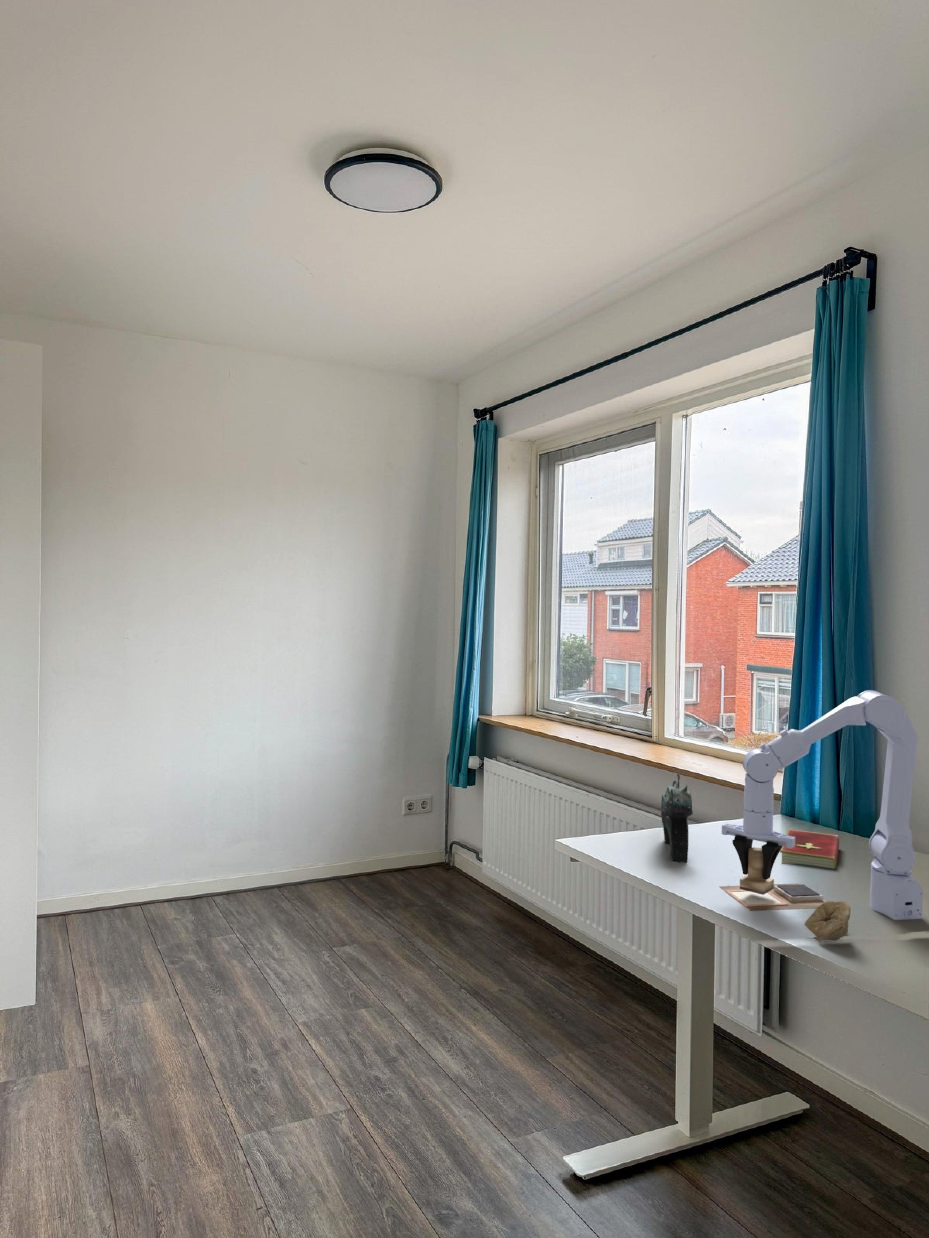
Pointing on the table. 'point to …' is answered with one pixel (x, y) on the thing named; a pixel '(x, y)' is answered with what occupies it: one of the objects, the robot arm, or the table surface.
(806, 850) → the hardcover book
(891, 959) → the table surface
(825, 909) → the fossil
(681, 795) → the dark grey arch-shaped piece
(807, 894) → the ink pad
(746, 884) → the stamp
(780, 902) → the square coaster
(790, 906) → the board
